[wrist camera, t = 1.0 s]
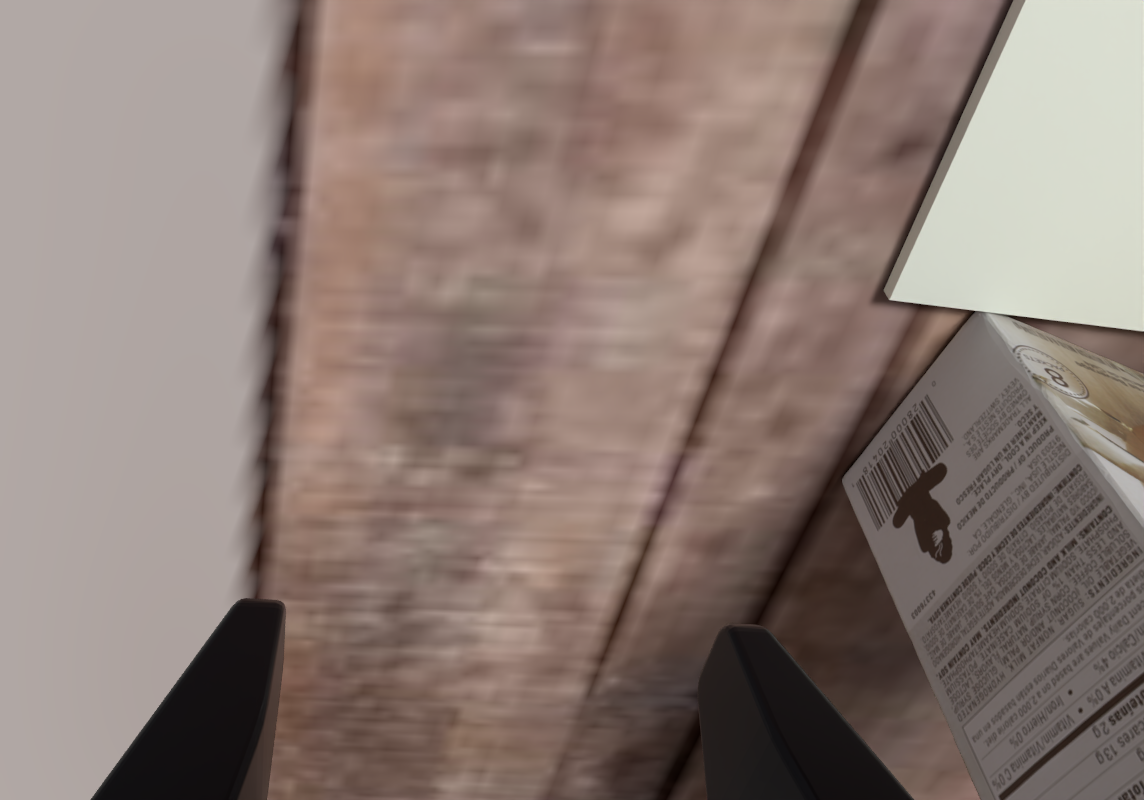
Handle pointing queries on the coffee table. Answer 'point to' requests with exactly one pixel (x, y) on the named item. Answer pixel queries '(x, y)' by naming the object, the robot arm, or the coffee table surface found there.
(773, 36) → the coffee table surface
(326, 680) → the coffee table surface
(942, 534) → the coffee box
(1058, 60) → the pad
